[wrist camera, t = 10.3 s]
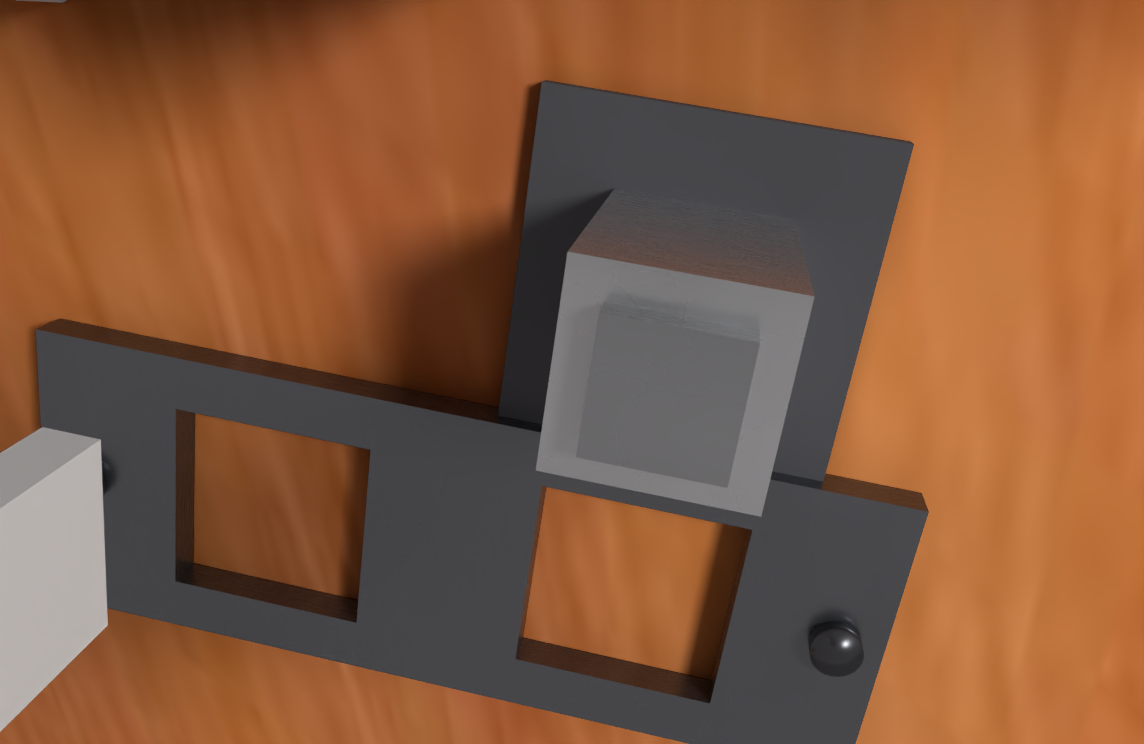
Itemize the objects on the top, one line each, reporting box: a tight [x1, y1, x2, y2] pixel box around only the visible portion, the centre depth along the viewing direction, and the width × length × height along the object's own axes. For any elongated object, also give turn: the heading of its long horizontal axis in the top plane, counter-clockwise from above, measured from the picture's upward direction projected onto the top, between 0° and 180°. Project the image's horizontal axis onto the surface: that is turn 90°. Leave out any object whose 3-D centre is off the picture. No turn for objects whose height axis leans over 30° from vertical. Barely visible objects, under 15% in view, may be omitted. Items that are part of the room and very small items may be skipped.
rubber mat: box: [498, 80, 914, 482], centre depth 28 cm, size 10×10×1 cm
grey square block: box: [536, 188, 815, 517], centre depth 24 cm, size 5×5×9 cm
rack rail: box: [36, 319, 929, 744], centre depth 32 cm, size 10×28×2 cm, turn 81°
